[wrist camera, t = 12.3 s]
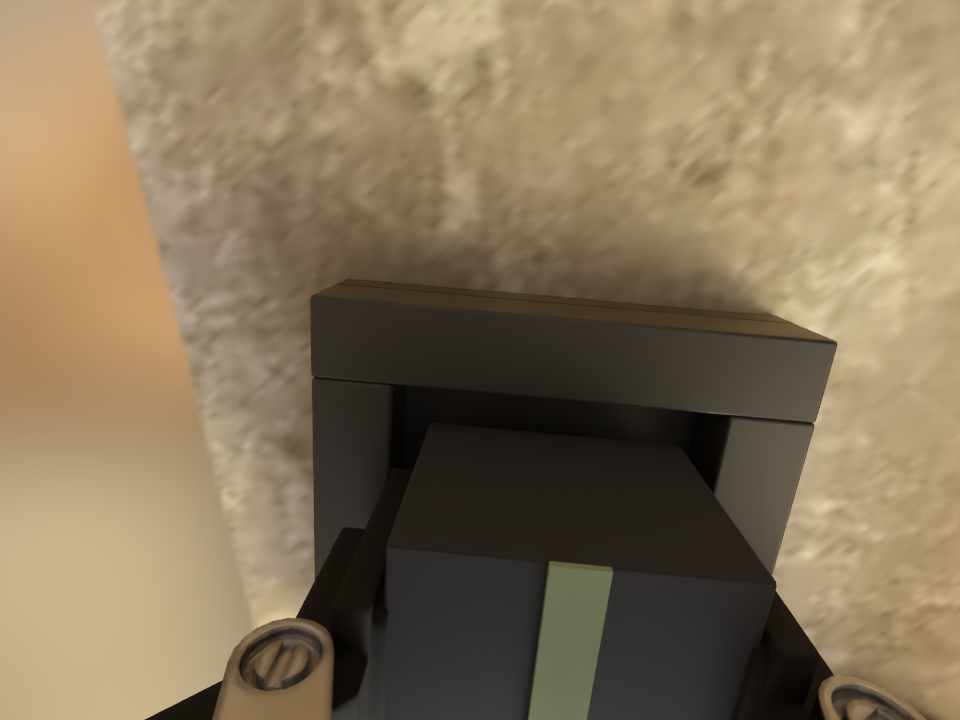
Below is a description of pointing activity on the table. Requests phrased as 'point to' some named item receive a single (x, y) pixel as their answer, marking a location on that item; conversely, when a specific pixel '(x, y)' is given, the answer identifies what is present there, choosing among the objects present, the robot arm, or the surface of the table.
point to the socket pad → (559, 389)
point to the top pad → (566, 583)
